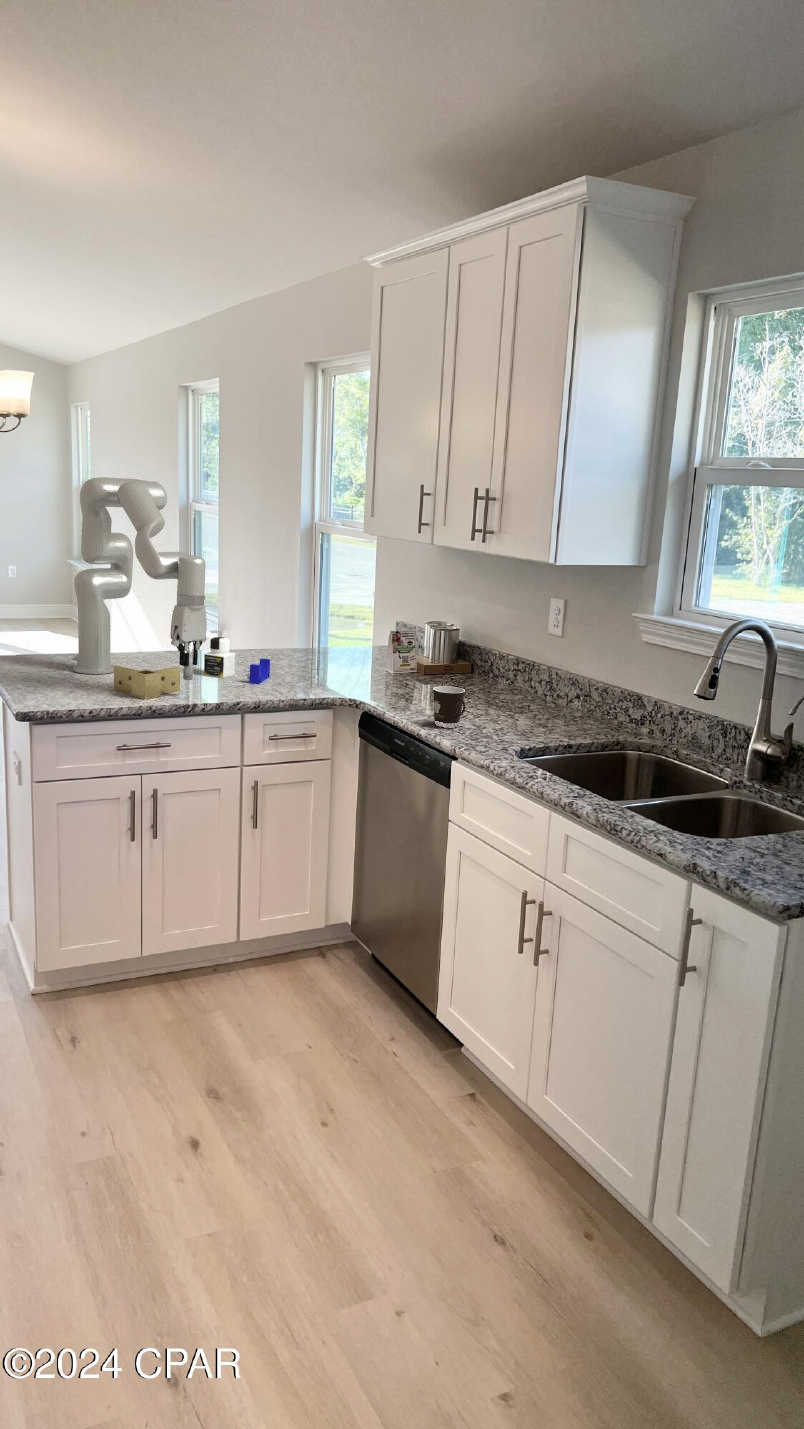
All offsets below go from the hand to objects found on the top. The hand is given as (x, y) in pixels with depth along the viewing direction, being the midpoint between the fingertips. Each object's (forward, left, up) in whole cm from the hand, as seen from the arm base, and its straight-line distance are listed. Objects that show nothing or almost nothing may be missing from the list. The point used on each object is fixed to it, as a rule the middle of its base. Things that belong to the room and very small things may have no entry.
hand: (188, 664), depth 293 cm
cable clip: (-3, +33, -10) cm, 34 cm away
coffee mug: (+71, +26, -9) cm, 76 cm away
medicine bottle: (-15, +29, -9) cm, 34 cm away
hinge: (-12, -4, -9) cm, 16 cm away
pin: (0, 0, -4) cm, 4 cm away
